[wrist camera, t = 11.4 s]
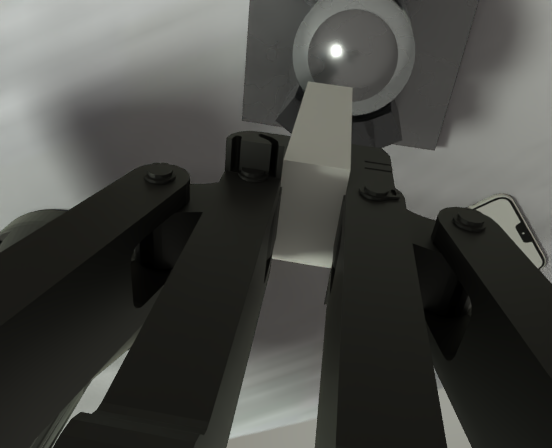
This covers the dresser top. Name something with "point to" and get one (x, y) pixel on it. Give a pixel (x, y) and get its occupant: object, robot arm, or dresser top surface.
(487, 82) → the dresser top surface
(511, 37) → the dresser top surface
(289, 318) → the dresser top surface
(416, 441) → the robot arm
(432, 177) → the dresser top surface
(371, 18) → the cap
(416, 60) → the dark grey holder
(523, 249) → the smartphone
